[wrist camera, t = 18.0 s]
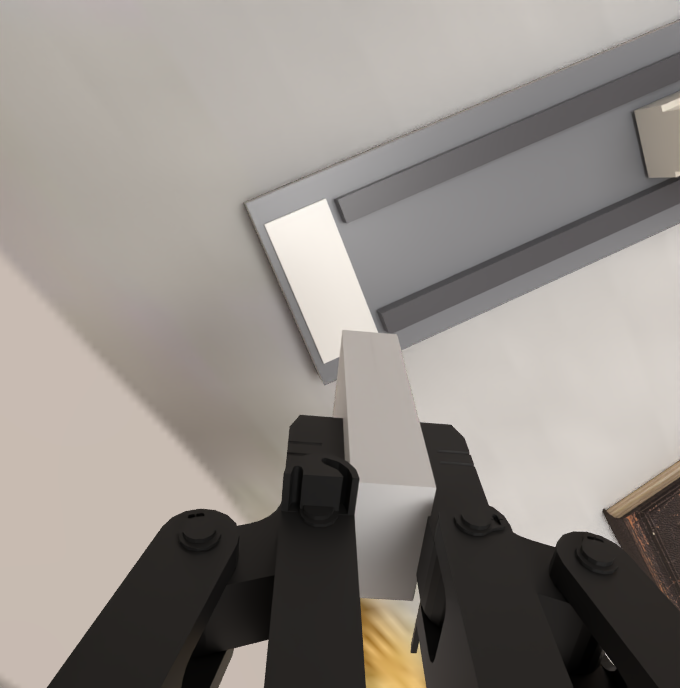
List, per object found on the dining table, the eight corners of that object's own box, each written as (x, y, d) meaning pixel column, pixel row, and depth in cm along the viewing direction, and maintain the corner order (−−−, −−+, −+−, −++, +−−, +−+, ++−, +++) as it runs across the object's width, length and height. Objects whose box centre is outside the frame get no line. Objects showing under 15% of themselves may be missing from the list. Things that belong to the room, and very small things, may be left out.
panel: (243, 202, 31) (247, 204, 28) (716, 4, 34) (763, -13, 31) (317, 374, 34) (328, 391, 31) (745, 179, 37) (791, 179, 34)
